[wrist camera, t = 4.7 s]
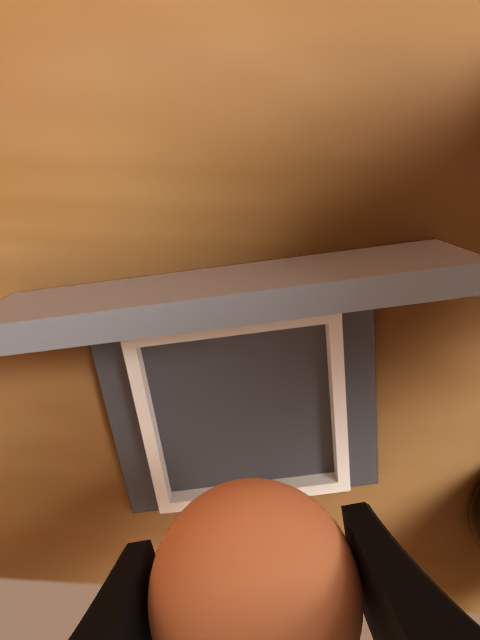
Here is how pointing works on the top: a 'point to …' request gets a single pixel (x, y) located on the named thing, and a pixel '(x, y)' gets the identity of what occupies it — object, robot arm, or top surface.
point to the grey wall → (237, 295)
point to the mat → (243, 408)
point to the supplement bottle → (475, 516)
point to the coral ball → (254, 569)
